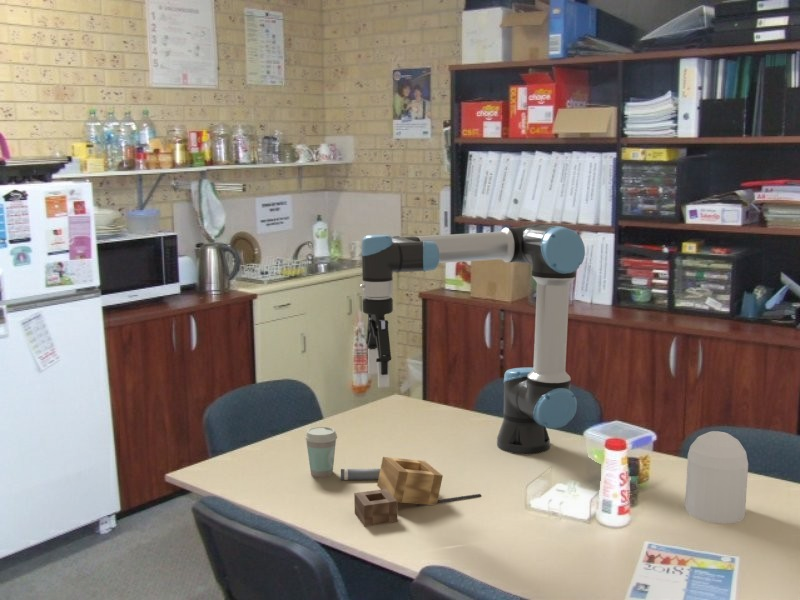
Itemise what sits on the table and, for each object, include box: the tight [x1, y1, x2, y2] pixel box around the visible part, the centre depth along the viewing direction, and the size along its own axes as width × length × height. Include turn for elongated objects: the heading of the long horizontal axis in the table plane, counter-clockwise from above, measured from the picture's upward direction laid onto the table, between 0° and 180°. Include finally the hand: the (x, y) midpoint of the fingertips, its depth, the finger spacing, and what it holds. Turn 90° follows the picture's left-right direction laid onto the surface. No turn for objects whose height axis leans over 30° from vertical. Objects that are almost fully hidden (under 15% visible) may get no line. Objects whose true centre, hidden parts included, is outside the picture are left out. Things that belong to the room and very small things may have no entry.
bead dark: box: [353, 489, 398, 527], centre depth 202 cm, size 8×8×5 cm
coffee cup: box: [304, 426, 338, 478], centre depth 230 cm, size 9×8×12 cm
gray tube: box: [340, 468, 381, 481], centre depth 227 cm, size 3×3×18 cm
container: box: [684, 430, 749, 525], centre depth 203 cm, size 13×13×20 cm
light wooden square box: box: [376, 456, 444, 506], centre depth 213 cm, size 12×12×8 cm
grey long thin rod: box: [417, 493, 482, 507], centre depth 212 cm, size 17×1×1 cm, turn 109°
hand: (378, 380), depth 218 cm, fingers open, 13 cm apart
